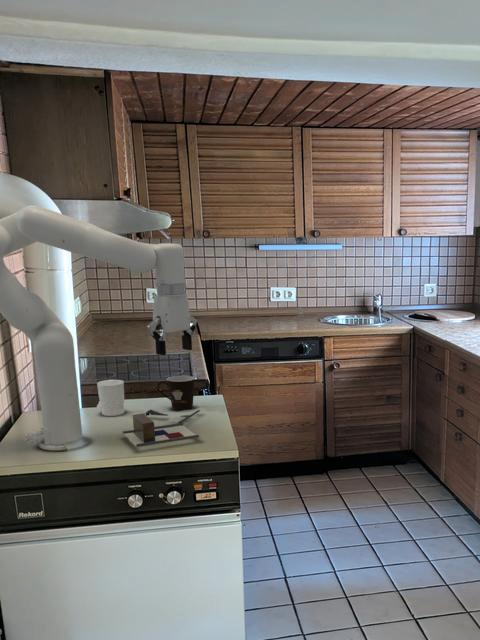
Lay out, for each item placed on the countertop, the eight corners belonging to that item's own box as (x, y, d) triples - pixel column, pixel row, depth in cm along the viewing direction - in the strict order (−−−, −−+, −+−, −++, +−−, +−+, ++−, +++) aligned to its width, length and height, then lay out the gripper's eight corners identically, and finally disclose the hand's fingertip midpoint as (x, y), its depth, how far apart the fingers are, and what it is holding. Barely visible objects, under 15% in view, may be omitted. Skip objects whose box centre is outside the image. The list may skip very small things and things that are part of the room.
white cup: (113, 408, 226) (110, 378, 223) (131, 412, 222) (129, 381, 220) (94, 414, 219) (91, 383, 216) (113, 418, 215) (110, 386, 213)
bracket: (157, 412, 222) (157, 403, 222) (201, 415, 220) (201, 406, 219) (135, 425, 209) (134, 416, 208) (182, 428, 206) (181, 419, 205)
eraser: (144, 443, 187) (142, 423, 185) (134, 433, 195) (132, 414, 193) (155, 441, 188) (154, 422, 187) (144, 432, 197) (143, 413, 195)
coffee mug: (201, 407, 228) (200, 377, 225) (182, 413, 221) (180, 382, 218) (176, 402, 234) (174, 373, 231) (156, 408, 227) (154, 378, 224)
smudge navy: (153, 436, 193) (153, 435, 193) (149, 432, 196) (149, 431, 196) (167, 434, 195) (167, 433, 195) (163, 430, 198) (163, 429, 198)
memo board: (137, 452, 184) (136, 444, 184) (123, 438, 196) (122, 431, 195) (199, 442, 193) (199, 435, 193) (182, 429, 205) (182, 422, 204)
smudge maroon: (169, 438, 191) (169, 437, 191) (164, 435, 194) (164, 434, 194) (183, 436, 193) (183, 435, 193) (179, 433, 196) (178, 431, 196)
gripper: (184, 287, 199) (187, 346, 204) (136, 291, 185) (140, 355, 190) (203, 288, 196) (206, 349, 200) (156, 293, 181) (160, 358, 186)
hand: (174, 352), depth 195 cm, fingers open, 9 cm apart
